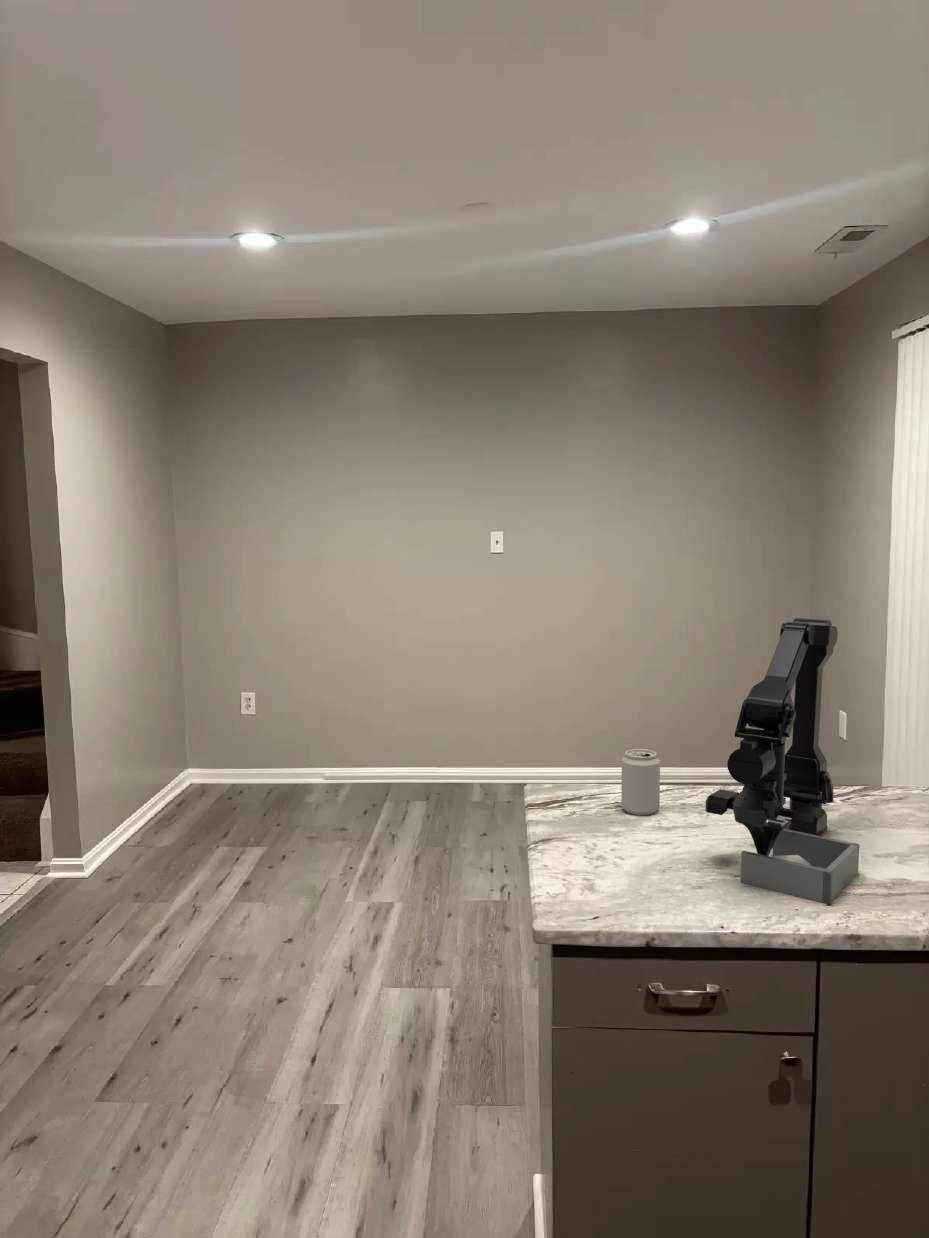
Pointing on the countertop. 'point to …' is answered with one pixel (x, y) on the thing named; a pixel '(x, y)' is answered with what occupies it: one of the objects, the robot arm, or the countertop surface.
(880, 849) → the countertop surface
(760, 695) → the robot arm
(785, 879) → the box
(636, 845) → the countertop surface
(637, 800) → the can
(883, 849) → the countertop surface
